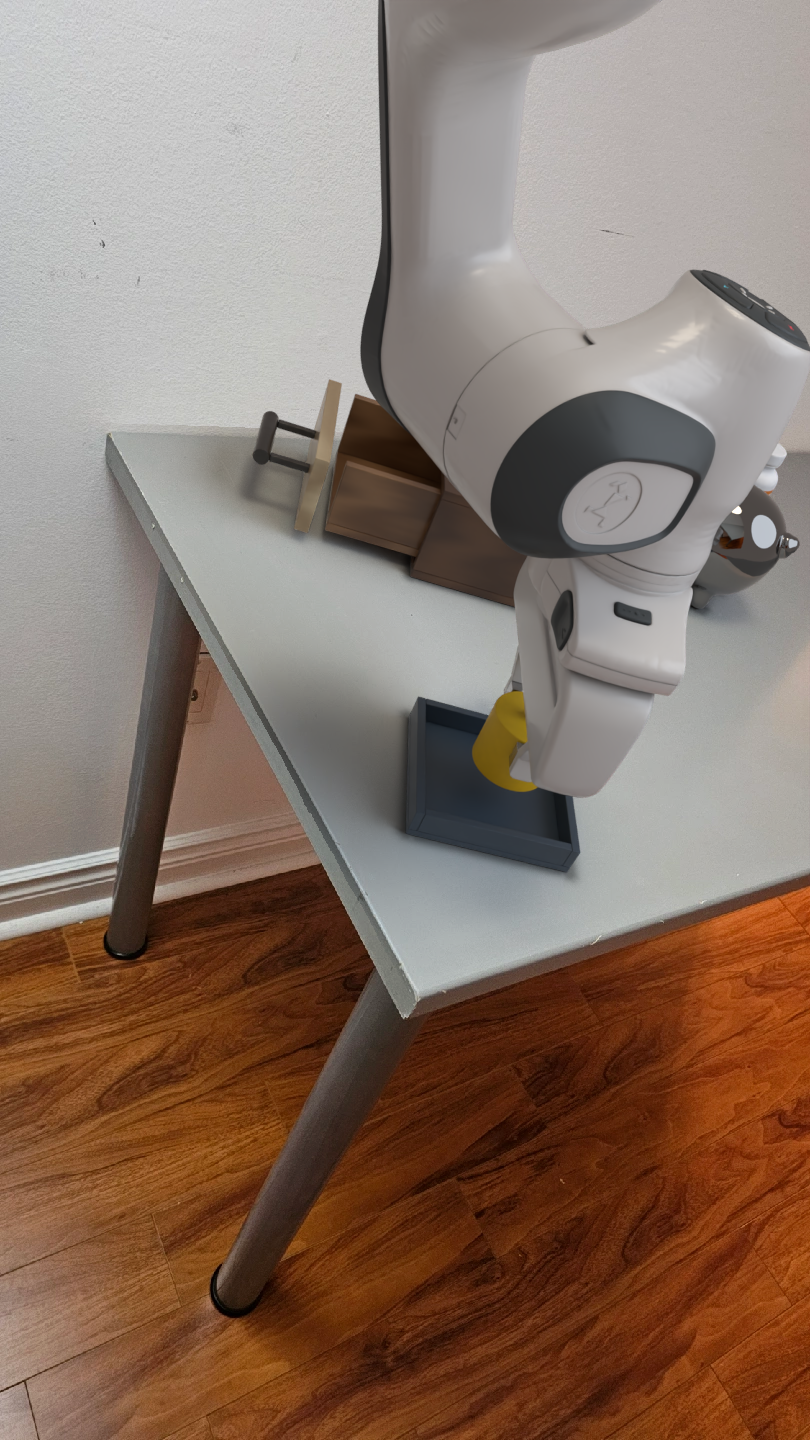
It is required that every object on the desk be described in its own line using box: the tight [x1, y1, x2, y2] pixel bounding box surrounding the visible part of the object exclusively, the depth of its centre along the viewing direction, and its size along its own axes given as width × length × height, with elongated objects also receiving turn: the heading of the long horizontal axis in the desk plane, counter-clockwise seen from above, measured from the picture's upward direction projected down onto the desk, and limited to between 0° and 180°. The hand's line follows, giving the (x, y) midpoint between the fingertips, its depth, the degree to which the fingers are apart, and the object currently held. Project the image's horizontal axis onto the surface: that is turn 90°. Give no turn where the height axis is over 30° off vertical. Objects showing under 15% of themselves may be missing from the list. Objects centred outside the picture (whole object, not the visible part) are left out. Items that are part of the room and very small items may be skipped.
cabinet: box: [409, 471, 527, 608], centre depth 93 cm, size 16×16×9 cm
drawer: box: [252, 378, 442, 557], centre depth 91 cm, size 19×14×7 cm
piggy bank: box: [690, 484, 801, 610], centre depth 100 cm, size 11×15×12 cm
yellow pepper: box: [472, 691, 537, 792], centre depth 69 cm, size 5×5×5 cm
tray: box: [405, 695, 581, 873], centre depth 72 cm, size 11×11×2 cm
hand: (517, 737), depth 69 cm, fingers closed on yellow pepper, 5 cm apart
